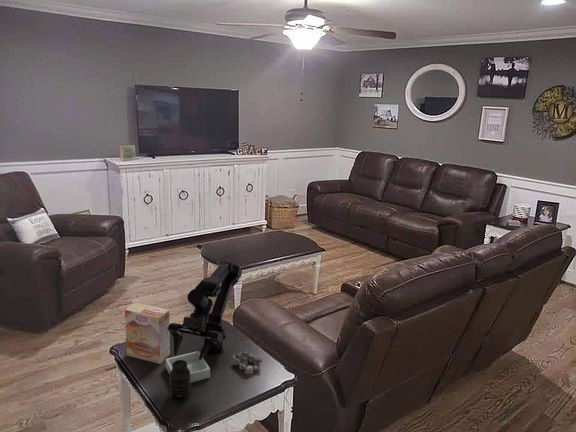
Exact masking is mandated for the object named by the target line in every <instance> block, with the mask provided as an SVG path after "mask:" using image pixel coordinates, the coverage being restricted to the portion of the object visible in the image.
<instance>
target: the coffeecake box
mask: <svg viewBox="0 0 576 432" xmlns="http://www.w3.org/2000/svg"><path fill="white" fill-rule="evenodd" d="M124 315H125V317H124V318H125V319H124V320H125V338H126V339H125V340H126V341H125V343H126V356H127V357H131V358H135V359H139V360H143V361H147V362H150V363H155V364H159V365H161V364H162V363H163V362H164V361H166V359H168V358H169V356H170V355H171V342H170V341H171V340H170V339H171V338H170V337H171V336H170V334H171V333H170V332H169V331H168V330H167V329H168V326H169V325H170V309H166V308H162V307H159V306H158V307H157V306H155V305H154V306H153V305H149V304H145V303H140V302H134V304H133V303H132V305H130V306H128V307H126V309H124Z"/></svg>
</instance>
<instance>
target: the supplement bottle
mask: <svg viewBox="0 0 576 432" xmlns="http://www.w3.org/2000/svg"><path fill="white" fill-rule="evenodd" d="M168 375H169V381H168V382H169V396H170V398H171V399H172V400H173V401H176V402H182V401H185V400H186V399H188V398H189V397H190V395H191V390H192V389H191V383H190V370H189V369H188V368H187V362H186V361H184V360H177V361H175V362H174V363H173V364H172V370H171V372H170V374H169V373H168Z"/></svg>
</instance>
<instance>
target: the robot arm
mask: <svg viewBox="0 0 576 432" xmlns="http://www.w3.org/2000/svg"><path fill="white" fill-rule="evenodd" d="M218 264H219V265H218V266H217V267H216V268H215V269H214V271H213V272H212V273H211V275H210V276H207V277H204V278H203V279H201V280H200V281H199V283H198V284H197V285H196V286H195V288H193V289H192V290H191V291H189V293H187V297H186V298H187V301H188V303H189V304H190V305H191V306H192V307H193V312H191V314H190V315H189V316H184V317H183V321H182V324H180V323H175V322H171V323H169V326H168V329H167V330H168V331H169V332H170V334H171V335H172V339H173V356H177V354H178V353H179V351H180V350H179V349H180V347H181V344H182V342H183V341H182V340H183V339H184V337H183V335H184V334H185V335H189V336H196V337H201V338H204V340H203V346H202V348H201V350H200V356H199V360H201V359H202V358H204V357H205V355H207V356H209V357H210V356H214V355H218V354H221V353H224V350H225V349H223V340H225V339H226V338H227V337H226V334H227V329H226V328H225V327H224V320H223V315H224V313H225V309H226V307H227V303H228V301H229V297H230V295H231V293H232V288H233V287H234V286H236V285H237V284H238V283H239V281H240V279H241V277H242V274H243V269H241V267H240V266H239V265H236V264H235V263H234V262H232V261H227V260H220V262H219V263H218ZM212 298H216V299H215V300H214V302H213V299H212Z"/></svg>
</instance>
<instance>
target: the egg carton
mask: <svg viewBox="0 0 576 432" xmlns="http://www.w3.org/2000/svg"><path fill="white" fill-rule="evenodd" d="M232 357H233V359H234V360H233V365H234V366H239V367H238V368H239V370H243V371H244V374H245V375H253V374H254V372H255V371H257V372H258V371H259V372H260V370H261V364H262V362H263V360H262V358H260V357H257V356H254V355H253V354H251V353H248V351H246V350H245V351H241V352H239V353H236V354H233V355H232ZM249 363H253V366H251V365H248V364H249ZM247 365H248V366H247Z"/></svg>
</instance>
